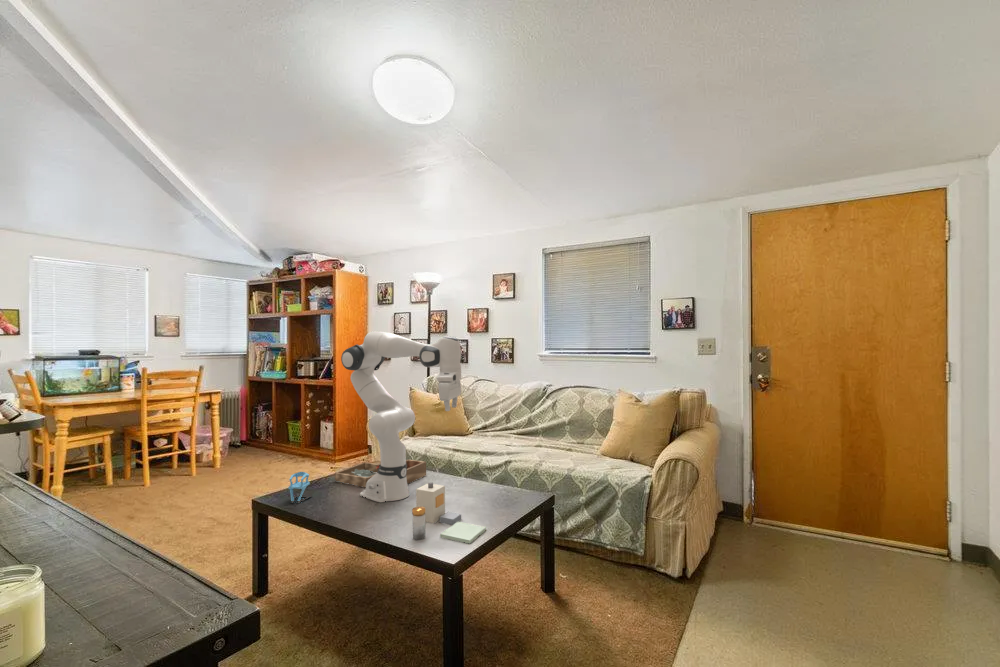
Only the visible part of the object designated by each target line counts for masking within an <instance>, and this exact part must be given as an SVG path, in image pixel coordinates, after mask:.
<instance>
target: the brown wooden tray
mask: <svg viewBox="0 0 1000 667" xmlns="http://www.w3.org/2000/svg"><path fill="white" fill-rule="evenodd" d="M380 464H381V463H380ZM380 464H379V463H372V462H362V463H358V464H356V465H354V466H350V467H346V468H344V469H342V470H339V471H336V472H334V481H335V480H336V481H340V482H344V483H349V484H354V485H358V486H357V487H359V486H363V487H362V488H364V487H366V483H367V481H368V480H369V479H370V478H371V477H373V476H374V475H372V476H370V477H361V476H355V475H354V473H352V472H354V471H355V469H357V470H370V471H373V472H378V469H379V468H378V469H376V468H377V467H376V466H379V465H380Z"/></svg>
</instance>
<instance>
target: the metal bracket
mask: <svg viewBox="0 0 1000 667" xmlns="http://www.w3.org/2000/svg"><path fill="white" fill-rule="evenodd" d="M352 473H354V475H355V476H361V477H370V476H372V475H375V474H376V473H371V472H370V470H357V469H355V471H354V472H352Z"/></svg>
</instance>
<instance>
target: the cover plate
mask: <svg viewBox="0 0 1000 667" xmlns="http://www.w3.org/2000/svg"><path fill="white" fill-rule="evenodd" d="M461 521H462V513H460V512H459V513H458V512H455V511H454V512H453V511H448V510H447V511H446V512H445V514H443V515H442V516H440V520H439V523H441V524H445V525H450V526H452V525H454V524H455V523H457V522H461Z"/></svg>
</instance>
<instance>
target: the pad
mask: <svg viewBox="0 0 1000 667" xmlns="http://www.w3.org/2000/svg"><path fill="white" fill-rule="evenodd" d="M485 530H486V531H487V527H486V526H483V525H478V524H472V523H468V522H462V521H458V522H457V523H455V524H454V525H450V526H449V527H448V528H446V530H443V531H442V532H441V533H440V535H439V537H440V539H445V538H446V539H447V540H451V541H454V540H455V541H454V542H459V541H460V542H459V543H463V542H465V543H464V544H468V543H469V544H472V541H473V540H474V541H475V540H476V539H478V538H479V537H480V536H481V535H482V534H483V533H484V531H485ZM486 531H485V532H486ZM479 535H480V536H479ZM478 536H479V537H478ZM474 541H473V542H474Z"/></svg>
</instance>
